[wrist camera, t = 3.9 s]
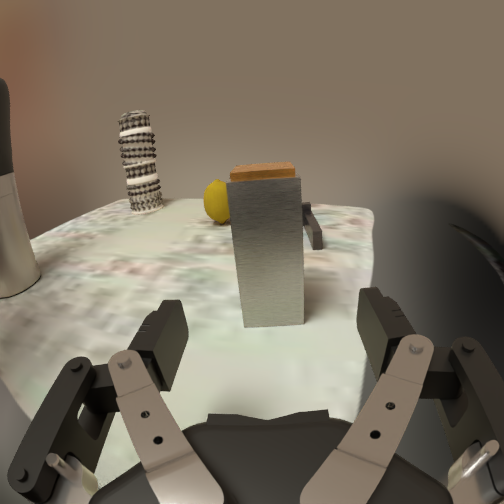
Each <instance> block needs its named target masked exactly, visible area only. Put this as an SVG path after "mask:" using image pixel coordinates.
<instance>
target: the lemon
mask: <svg viewBox="0 0 504 504" xmlns="http://www.w3.org/2000/svg"><path fill="white" fill-rule="evenodd" d="M204 207H205V211H206V213H207V215H208V216H209V217H210V218H212V219H213V220H216V221H218V222H219V223H221V224H223V223H225V221H226V220H227V219H229V218H230V214H229V206H228V197H227V189H226V183H225V182H222V181H220V180H219V179H216V180H215V181H214V182H213V183H211V184H210V185H209V186H208V187H207V188H206V190H205V193H204Z"/></svg>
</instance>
